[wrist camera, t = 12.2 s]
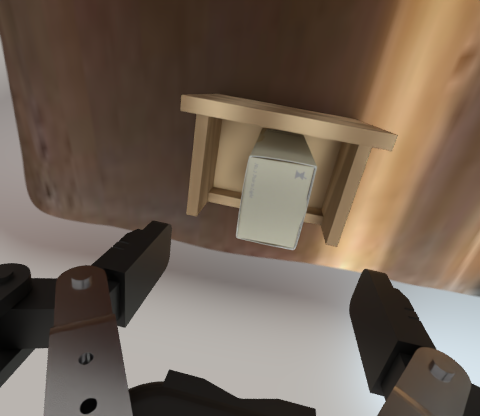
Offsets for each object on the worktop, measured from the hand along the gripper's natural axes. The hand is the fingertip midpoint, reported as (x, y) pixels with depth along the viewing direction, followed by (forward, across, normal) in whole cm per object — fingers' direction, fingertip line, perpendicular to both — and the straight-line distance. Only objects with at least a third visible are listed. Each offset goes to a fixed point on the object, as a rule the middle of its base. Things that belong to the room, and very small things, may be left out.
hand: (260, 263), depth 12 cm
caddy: (+20, 0, 0) cm, 20 cm away
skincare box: (+20, 0, 0) cm, 20 cm away
